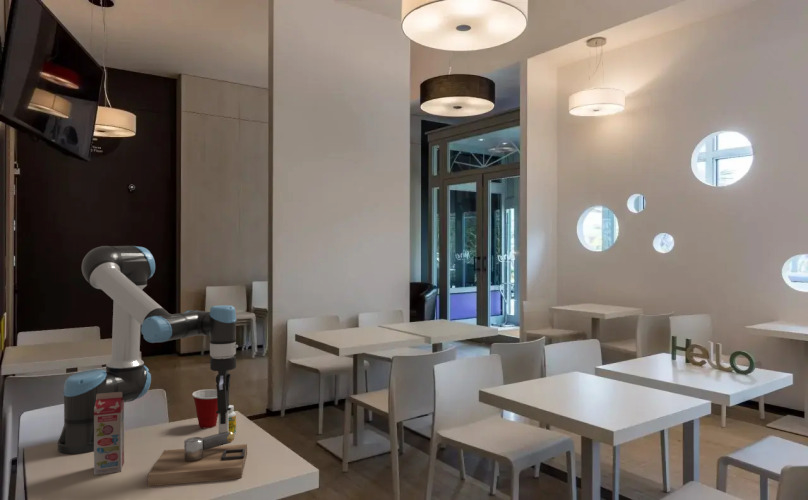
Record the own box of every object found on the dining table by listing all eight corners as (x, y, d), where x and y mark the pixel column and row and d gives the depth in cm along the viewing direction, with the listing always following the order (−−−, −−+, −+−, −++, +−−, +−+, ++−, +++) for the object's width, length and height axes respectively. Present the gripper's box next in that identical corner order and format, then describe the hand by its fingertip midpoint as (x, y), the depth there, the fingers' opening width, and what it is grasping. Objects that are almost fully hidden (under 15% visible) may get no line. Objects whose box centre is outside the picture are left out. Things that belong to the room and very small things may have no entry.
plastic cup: (213, 431, 185) (213, 397, 185) (185, 429, 187) (185, 395, 187) (229, 421, 195) (229, 389, 195) (203, 420, 197) (203, 387, 197)
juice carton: (98, 466, 155) (98, 391, 155) (124, 463, 157) (123, 388, 157) (94, 475, 149) (93, 396, 149) (120, 471, 151) (120, 394, 151)
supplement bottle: (231, 430, 186) (231, 403, 186) (238, 434, 182) (238, 406, 182) (216, 434, 182) (216, 406, 182) (223, 438, 178) (223, 409, 178)
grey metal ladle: (189, 462, 149) (189, 444, 149) (181, 457, 153) (181, 440, 153) (238, 447, 160) (238, 431, 160) (229, 443, 164) (229, 427, 164)
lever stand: (164, 460, 159) (164, 447, 159) (247, 453, 164) (247, 441, 164) (148, 486, 142) (148, 471, 142) (241, 477, 147) (241, 464, 147)
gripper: (233, 359, 157) (234, 439, 157) (238, 351, 170) (238, 425, 170) (207, 361, 155) (207, 441, 155) (213, 352, 168) (213, 427, 168)
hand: (223, 433), depth 162 cm, fingers closed
